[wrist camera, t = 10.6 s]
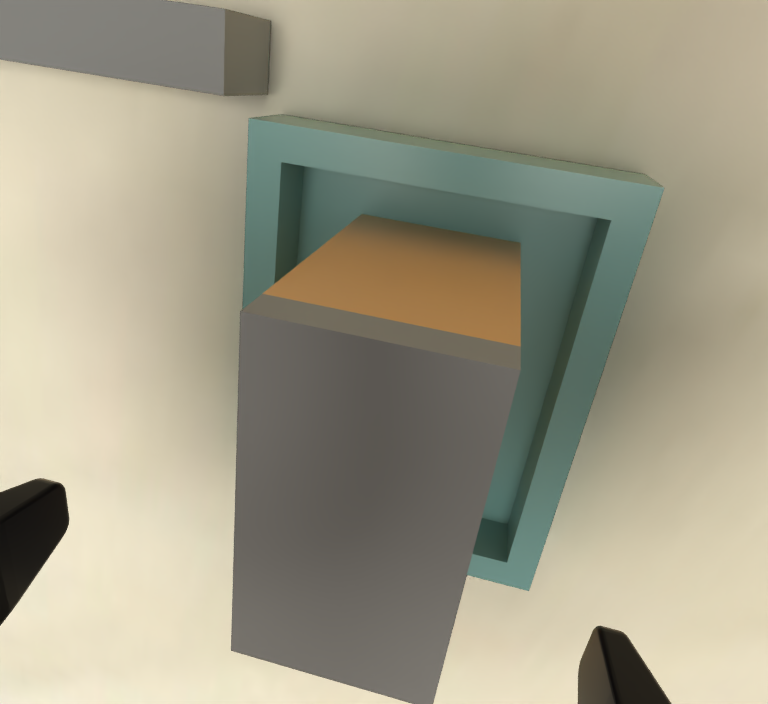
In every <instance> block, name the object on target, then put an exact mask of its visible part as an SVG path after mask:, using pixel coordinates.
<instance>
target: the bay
mask: <svg viewBox="0 0 768 704" xmlns="http://www.w3.org/2000/svg"><path fill="white" fill-rule="evenodd" d="M270 27H271V21H269V20H265V19H262V18H258V17H254V16H250V15H247V14H243V13H239V12H235V11H231V10H228V9H223V8H216V7H209V6H202V5H195V4H188V3H181V2H174V1H167V0H0V59H1V60H7V61H13V62H19V63H25V64H31V65H38V66H44V67H50V68H56V69H62V70H68V71H74V72H80V73H87V74H93V75H99V76H105V77H111V78H117V79H123V80H129V81H136V82H142V83H148V84H154V85H160V86H166V87H172V88H178V89H185V90H191V91H197V92H203V93H209V94H215V95H221V96H236V95H267V94H268V72H269V50H270Z"/></svg>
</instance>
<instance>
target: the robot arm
mask: <svg viewBox="0 0 768 704" xmlns="http://www.w3.org/2000/svg"><path fill="white" fill-rule="evenodd" d="M68 525H69V513H68V506H67V498H66V491H65V488H64V486H63V485H62V484H61V483H58V482H55V481H51V480H47V479H42V478H39V479H35V480H32V481H29V482H27V483H24V484H21V485H18V486H16V487H13V488H10V489H8V490H5V491H2V492H0V625H1V624H2V623H3V622H4V620H5V619H6V618H7V616H8V615H9V614H10V613H11V611H12V610H13V609H14V607H15V606H16V604H17V603H18V602H19V600H20V599H21V597H22V596H23V594H24V593H25V592H26V590H27V589H28V587H29V586H30V584H31V583H32V581H33V580H34V578H35V577H36V575H37V574H38V572H39V571H40V570H41V568H42V567H43V565H44V564H45V562H46V561H47V559H48V558H49V556H50V555H51V553H52V552H53V550H54V549H55V548H56V546H57V545H58V543H59V542H60V540H61V539H62V537H63V536H64V534H65V532H66V530H67V528H68ZM578 704H671V702H670V701H669V699H668V698H667V696H666V695H665V693H664V691H663V690H662V688H661V687H660V685H659V684H658V682H657V681H656V679H655V678H654V676H653V675H652V673H651V672H650V670H649V669H648V667H647V666H646V664H645V662H644V661H643V659H642V658H641V656H640V655H639V653H638V652H637V650H636V649H635V647H634V646H633V644H632V643H631V641H630V640H629V638H628V637H627V635H626V634H624V633H623V632H621V631H618V630H615V629H611V628H607V627H603V626H597V627H596V628H595V629H594V630H593V632H592V634H591V637H590V639H589V641H588V644H587V646H586V649H585V651H584V653H583V656H582V658H581V661H580V665H579V672H578Z"/></svg>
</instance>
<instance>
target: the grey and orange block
mask: <svg viewBox="0 0 768 704" xmlns="http://www.w3.org/2000/svg"><path fill="white" fill-rule="evenodd" d="M520 371H521V243H519V242H513V241H508V240H502V239H497V238H491V237H486V236H480V235H475V234H469V233H464V232H458V231H453V230H447V229H442V228H436V227H431V226H425V225H420V224H414V223H409V222H403V221H397V220H392V219H386V218H381V217H375V216H370V215H364V214H361V215H360V216H359V217H357V218H356V219H355V220H354V221H352V222H351V223H350V224H349V225H347V226H346V227H345V228H344V229H342V230H341V231H340V232H339V233H337V234H336V235H335V236H334V237H332V238H331V239H330V240H329V241H327V242H326V243H325V244H324V245H322V246H321V247H320V248H319V249H317V250H316V251H315V252H314V253H312V254H311V255H310V256H309V257H307V258H306V259H305V260H304V261H302V262H301V263H300V264H299V265H297V266H296V267H295V268H294V269H292V270H291V271H290V272H289V273H287V274H286V275H285V276H284V277H282V278H281V279H280V280H279V281H278V282H276V283H275V284H274V285H273V286H271V287H270V288H269V289H268V290H266V291H265V292H264V293H263V294H261V295H260V296H259V297H258V298H256V299H255V300H254V301H253V302H251V303H250V304H249V305H248V306H246V307H245V308H244V309H243V310H241V311H240V343H239V380H238V416H237V453H236V489H235V526H234V562H233V599H232V635H231V651H234V652H237V653H241V654H244V655H248V656H251V657H255V658H258V659H261V660H265V661H268V662H272V663H275V664H279V665H282V666H285V667H289V668H292V669H296V670H299V671H303V672H306V673H309V674H313V675H316V676H320V677H323V678H327V679H330V680H333V681H337V682H340V683H344V684H347V685H350V686H354V687H357V688H361V689H364V690H368V691H371V692H374V693H378V694H381V695H385V696H388V697H392V698H395V699H398V700H402V701H405V702H409V703H412V704H433V702H434V698H435V694H436V690H437V686H438V683H439V679H440V675H441V671H442V667H443V664H444V660H445V656H446V652H447V648H448V645H449V641H450V637H451V633H452V629H453V626H454V622H455V618H456V614H457V610H458V607H459V603H460V599H461V595H462V591H463V588H464V584H465V580H466V576H467V572H468V569H469V565H470V561H471V557H472V553H473V550H474V546H475V542H476V538H477V534H478V531H479V527H480V523H481V519H482V515H483V512H484V508H485V504H486V500H487V496H488V493H489V489H490V485H491V481H492V477H493V474H494V470H495V466H496V462H497V458H498V455H499V451H500V447H501V443H502V439H503V436H504V432H505V428H506V424H507V420H508V417H509V413H510V409H511V405H512V401H513V398H514V394H515V390H516V386H517V382H518V379H519V375H520Z"/></svg>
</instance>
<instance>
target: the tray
mask: <svg viewBox="0 0 768 704" xmlns="http://www.w3.org/2000/svg"><path fill="white" fill-rule="evenodd" d="M663 191H664V187H663V186H661V185H660V184H658V183H657V182H655V181H654V180H653V179H651V178H650V177H648V176H647V175H645V174H639V173H633V172H627V171H621V170H615V169H609V168H603V167H597V166H591V165H585V164H579V163H573V162H567V161H561V160H555V159H549V158H543V157H537V156H531V155H525V154H518V153H512V152H506V151H500V150H494V149H488V148H482V147H476V146H470V145H464V144H458V143H452V142H446V141H440V140H434V139H428V138H422V137H416V136H410V135H404V134H397V133H391V132H385V131H379V130H373V129H367V128H361V127H355V126H349V125H343V124H337V123H331V122H325V121H319V120H313V119H307V118H301V117H295V116H289V115H283V114H281V115H272V116H264V117H255V118H249V126H248V157H247V188H246V218H245V249H244V280H243V309H244V308H245V307H246V306H248V305H249V304H250V303H251V302H253V301H254V300H255V299H256V298H258V297H259V296H260V295H261V294H263V293H264V292H265V291H266V290H268V289H269V288H270V287H271V286H273V285H274V284H275V283H276V282H278V281H279V280H280V279H281V278H282V277H284V276H285V275H286V274H287V273H289V272H290V271H291V270H292V269H294V268H295V267H296V266H297V265H299V264H300V263H301V262H302V261H304V260H305V259H306V258H307V257H309V256H310V255H311V254H312V253H314V252H315V251H316V250H317V249H319V248H320V247H321V246H322V245H324V244H325V243H326V242H327V241H329V240H330V239H331V238H332V237H334V236H335V235H336V234H337V233H339V232H340V231H341V230H342V229H344V228H345V227H346V226H347V225H349V224H350V223H351V222H352V221H354V220H355V219H356V218H357V217H359V216H360V215H361V214H364V215H370V216H375V217H381V218H386V219H392V220H397V221H403V222H409V223H414V224H420V225H425V226H431V227H436V228H442V229H447V230H453V231H458V232H464V233H469V234H475V235H480V236H486V237H491V238H497V239H502V240H508V241H513V242H519V243H521V371H520V375H519V379H518V382H517V386H516V390H515V394H514V398H513V401H512V405H511V409H510V413H509V417H508V420H507V424H506V428H505V432H504V436H503V439H502V443H501V447H500V451H499V455H498V458H497V462H496V466H495V470H494V474H493V477H492V481H491V485H490V489H489V493H488V496H487V500H486V504H485V508H484V512H483V515H482V519H481V523H480V527H479V531H478V534H477V538H476V542H475V546H474V550H473V553H472V557H471V561H470V565H469V569H468V572H467V575H470V576H473V577H477V578H481V579H485V580H489V581H493V582H496V583H500V584H504V585H508V586H512V587H515V588H519V589H523V590H527V591H529V589H530V586H531V583H532V580H533V577H534V574H535V571H536V568H537V565H538V562H539V559H540V556H541V553H542V550H543V547H544V545H545V542H546V539H547V536H548V533H549V530H550V527H551V524H552V521H553V518H554V515H555V512H556V509H557V506H558V503H559V500H560V497H561V494H562V491H563V488H564V485H565V482H566V479H567V476H568V473H569V470H570V467H571V464H572V461H573V458H574V455H575V452H576V449H577V446H578V443H579V440H580V437H581V435H582V432H583V429H584V426H585V423H586V420H587V417H588V414H589V411H590V408H591V405H592V402H593V399H594V396H595V393H596V390H597V387H598V384H599V381H600V378H601V375H602V372H603V369H604V366H605V363H606V360H607V357H608V354H609V351H610V348H611V345H612V342H613V339H614V336H615V333H616V330H617V327H618V324H619V322H620V319H621V316H622V313H623V310H624V307H625V304H626V301H627V298H628V295H629V292H630V289H631V286H632V283H633V280H634V277H635V274H636V271H637V268H638V265H639V262H640V259H641V256H642V253H643V250H644V247H645V244H646V241H647V238H648V235H649V232H650V229H651V226H652V223H653V220H654V217H655V214H656V211H657V209H658V206H659V203H660V200H661V197H662V194H663Z"/></svg>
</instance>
